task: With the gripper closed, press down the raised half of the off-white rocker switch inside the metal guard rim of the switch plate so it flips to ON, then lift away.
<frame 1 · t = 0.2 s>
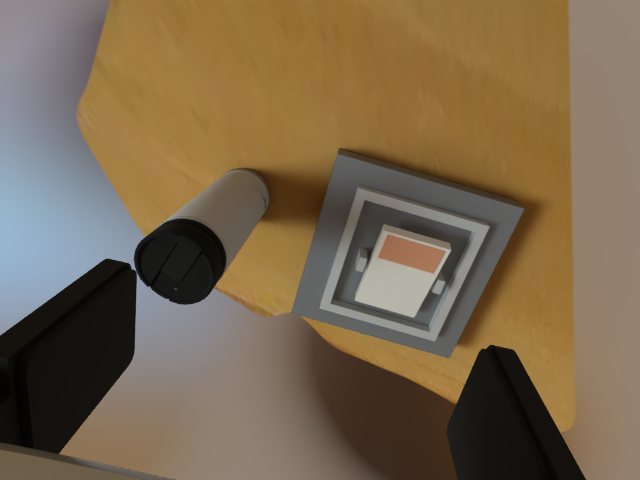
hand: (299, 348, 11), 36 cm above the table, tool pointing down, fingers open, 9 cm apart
travel mug: (245, 192, 48), on the table
rocker switch: (399, 273, 44), point 5 cm above the table, hinge at 12.0°
switch plate: (396, 254, 49), on the table
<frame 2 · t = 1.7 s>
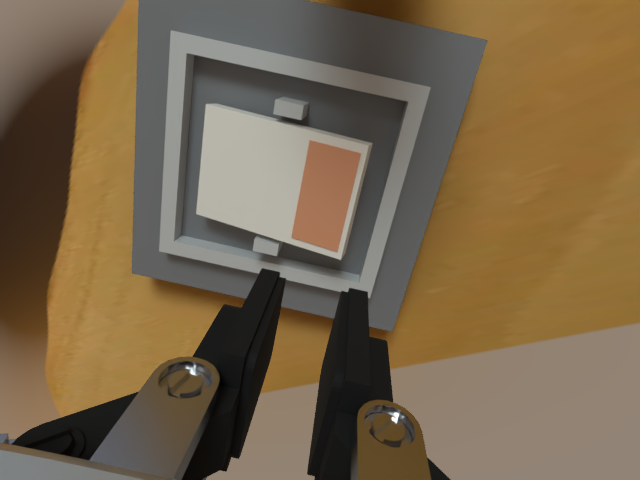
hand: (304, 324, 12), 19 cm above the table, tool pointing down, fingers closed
rocker switch: (277, 181, 25), point 5 cm above the table, hinge at 12.0°
switch plate: (290, 164, 30), on the table
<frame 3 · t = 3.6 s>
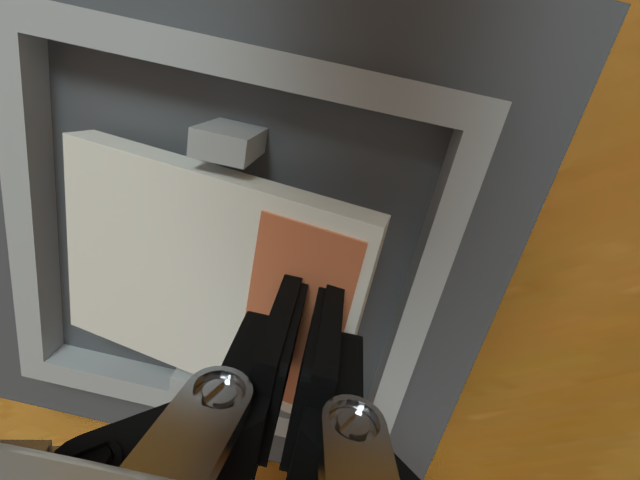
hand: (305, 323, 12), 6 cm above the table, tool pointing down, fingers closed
rocker switch: (208, 277, 13), point 5 cm above the table, hinge at 11.5°, touching gripper
switch plate: (249, 224, 18), on the table
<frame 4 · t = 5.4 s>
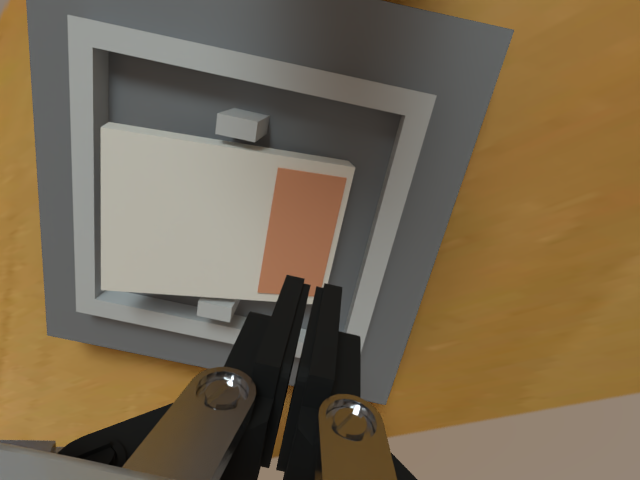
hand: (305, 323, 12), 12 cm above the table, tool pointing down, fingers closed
rocker switch: (227, 224, 18), point 5 cm above the table, hinge at -15.0°
switch plate: (252, 193, 23), on the table
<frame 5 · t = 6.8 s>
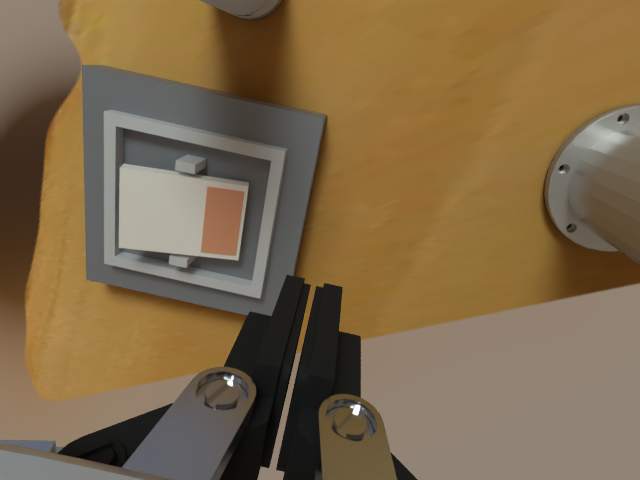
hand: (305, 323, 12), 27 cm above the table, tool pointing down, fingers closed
rocker switch: (184, 214, 35), point 5 cm above the table, hinge at -14.3°
switch plate: (204, 198, 40), on the table
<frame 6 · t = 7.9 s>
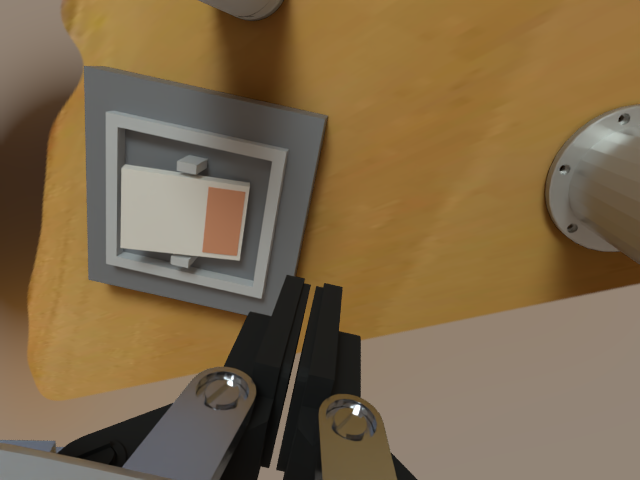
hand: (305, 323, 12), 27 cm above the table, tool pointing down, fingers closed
rocker switch: (185, 215, 35), point 5 cm above the table, hinge at -14.2°
switch plate: (205, 198, 40), on the table
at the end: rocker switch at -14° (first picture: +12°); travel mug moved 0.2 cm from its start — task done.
